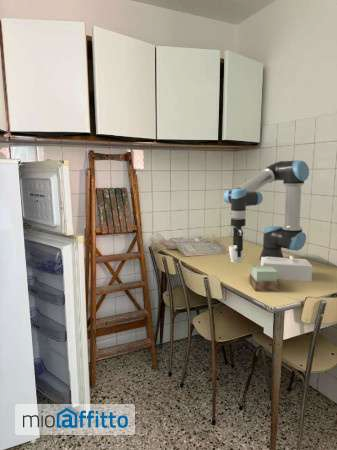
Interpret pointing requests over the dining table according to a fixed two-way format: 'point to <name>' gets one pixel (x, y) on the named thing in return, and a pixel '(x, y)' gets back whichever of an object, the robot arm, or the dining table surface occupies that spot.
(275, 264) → the elongated white prism
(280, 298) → the dining table surface
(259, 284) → the walnut block
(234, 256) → the cup
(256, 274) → the sage block
